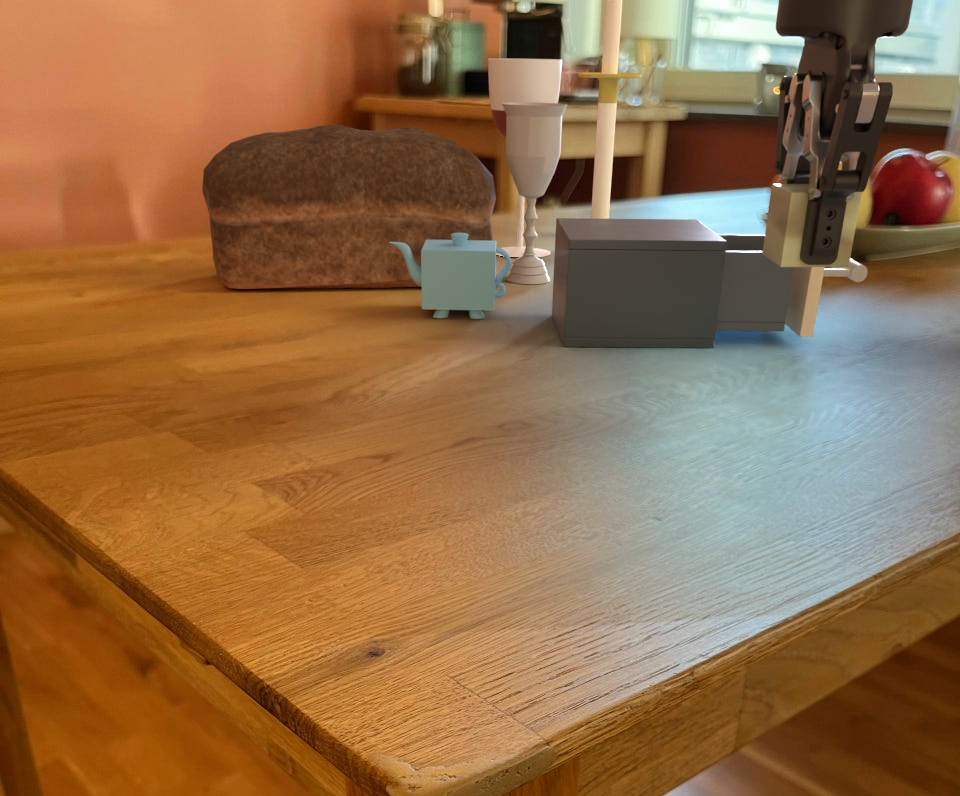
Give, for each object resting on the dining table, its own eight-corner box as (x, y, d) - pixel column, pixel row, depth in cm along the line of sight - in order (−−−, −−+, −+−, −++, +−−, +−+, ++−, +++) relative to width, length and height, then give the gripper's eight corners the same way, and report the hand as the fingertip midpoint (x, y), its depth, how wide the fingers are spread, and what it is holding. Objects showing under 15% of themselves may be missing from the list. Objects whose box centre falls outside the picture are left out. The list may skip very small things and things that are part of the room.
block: (826, 254, 69) (838, 183, 66) (848, 267, 65) (862, 192, 63) (762, 254, 68) (771, 183, 66) (780, 267, 65) (791, 192, 62)
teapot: (388, 318, 100) (385, 237, 96) (394, 304, 105) (391, 227, 101) (509, 320, 100) (511, 239, 96) (509, 306, 105) (511, 229, 101)
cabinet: (686, 316, 103) (696, 219, 98) (713, 348, 92) (727, 241, 87) (551, 314, 102) (556, 218, 98) (563, 347, 91) (569, 239, 87)
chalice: (485, 278, 118) (488, 103, 109) (528, 271, 122) (534, 101, 113) (528, 288, 113) (534, 106, 104) (571, 281, 117) (581, 105, 108)
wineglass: (563, 249, 135) (573, 59, 124) (536, 261, 128) (544, 59, 117) (503, 244, 138) (507, 58, 127) (473, 255, 131) (475, 58, 120)
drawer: (826, 309, 102) (840, 231, 98) (866, 337, 92) (884, 252, 88) (654, 307, 101) (661, 230, 98) (675, 336, 92) (685, 250, 88)
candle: (555, 232, 148) (570, -82, 129) (621, 231, 150) (645, -80, 131) (573, 243, 139) (591, -91, 121) (643, 242, 141) (672, -88, 122)
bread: (501, 289, 113) (505, 130, 104) (206, 294, 109) (187, 128, 101) (483, 265, 125) (485, 120, 117) (218, 268, 121) (202, 118, 113)
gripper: (975, -71, 52) (903, 278, 61) (874, -50, 64) (826, 238, 73) (829, -72, 52) (778, 279, 60) (756, -50, 64) (722, 238, 73)
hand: (805, 255), depth 67 cm, fingers closed on block, 4 cm apart
